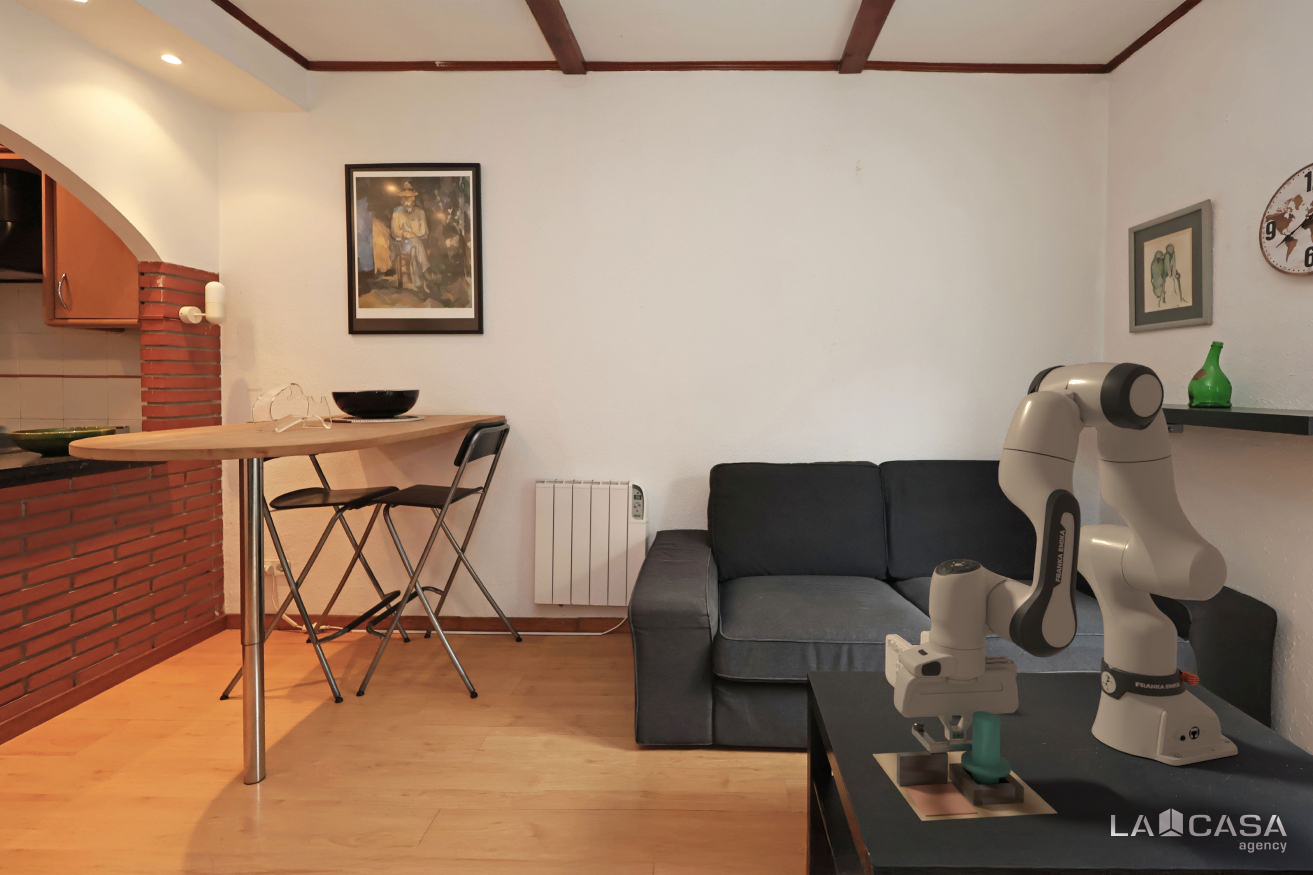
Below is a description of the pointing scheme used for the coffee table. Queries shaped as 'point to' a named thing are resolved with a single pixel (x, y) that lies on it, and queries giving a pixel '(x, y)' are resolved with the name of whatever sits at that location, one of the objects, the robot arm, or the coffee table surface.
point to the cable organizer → (898, 653)
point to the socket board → (956, 788)
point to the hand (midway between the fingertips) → (955, 738)
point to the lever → (938, 746)
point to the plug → (985, 750)
